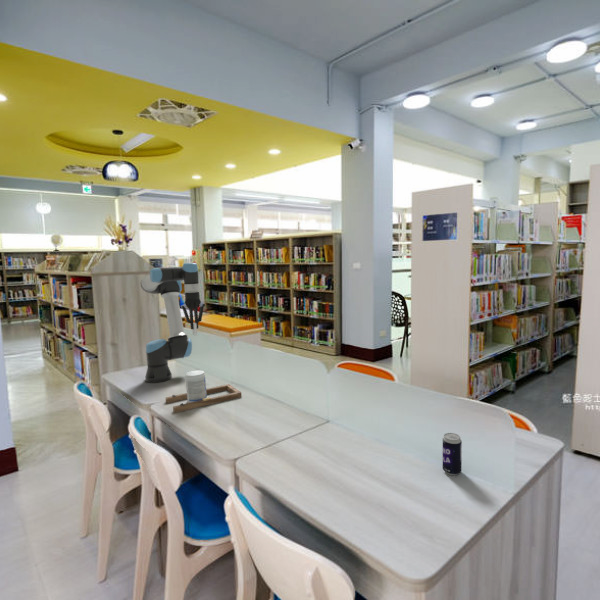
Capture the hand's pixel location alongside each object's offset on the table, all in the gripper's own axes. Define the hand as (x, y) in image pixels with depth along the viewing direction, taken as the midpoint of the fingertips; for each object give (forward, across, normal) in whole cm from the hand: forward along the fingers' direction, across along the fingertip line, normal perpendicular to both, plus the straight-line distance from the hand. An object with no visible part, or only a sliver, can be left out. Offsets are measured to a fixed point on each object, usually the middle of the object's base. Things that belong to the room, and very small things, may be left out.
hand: (195, 334), depth 215 cm
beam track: (+30, -4, -18) cm, 36 cm away
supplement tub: (+31, -6, -18) cm, 36 cm away
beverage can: (+31, +41, -133) cm, 143 cm away
